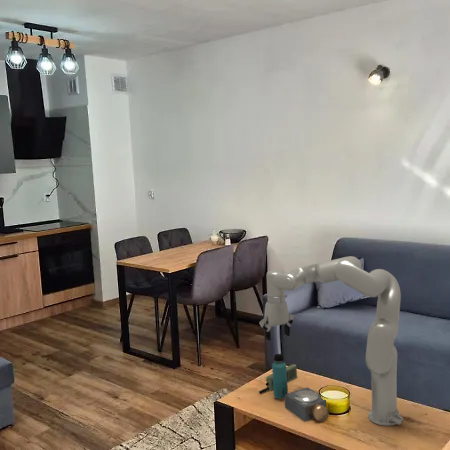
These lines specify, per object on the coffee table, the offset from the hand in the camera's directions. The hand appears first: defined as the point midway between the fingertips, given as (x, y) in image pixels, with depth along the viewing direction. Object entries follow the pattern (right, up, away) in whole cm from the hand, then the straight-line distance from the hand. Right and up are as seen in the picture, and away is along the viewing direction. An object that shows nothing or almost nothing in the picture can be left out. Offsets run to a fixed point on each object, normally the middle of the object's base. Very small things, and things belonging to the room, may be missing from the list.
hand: (277, 337), depth 222 cm
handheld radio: (+2, -27, +17) cm, 32 cm away
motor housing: (+12, -29, -10) cm, 33 cm away
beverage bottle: (+2, -28, +3) cm, 28 cm away
